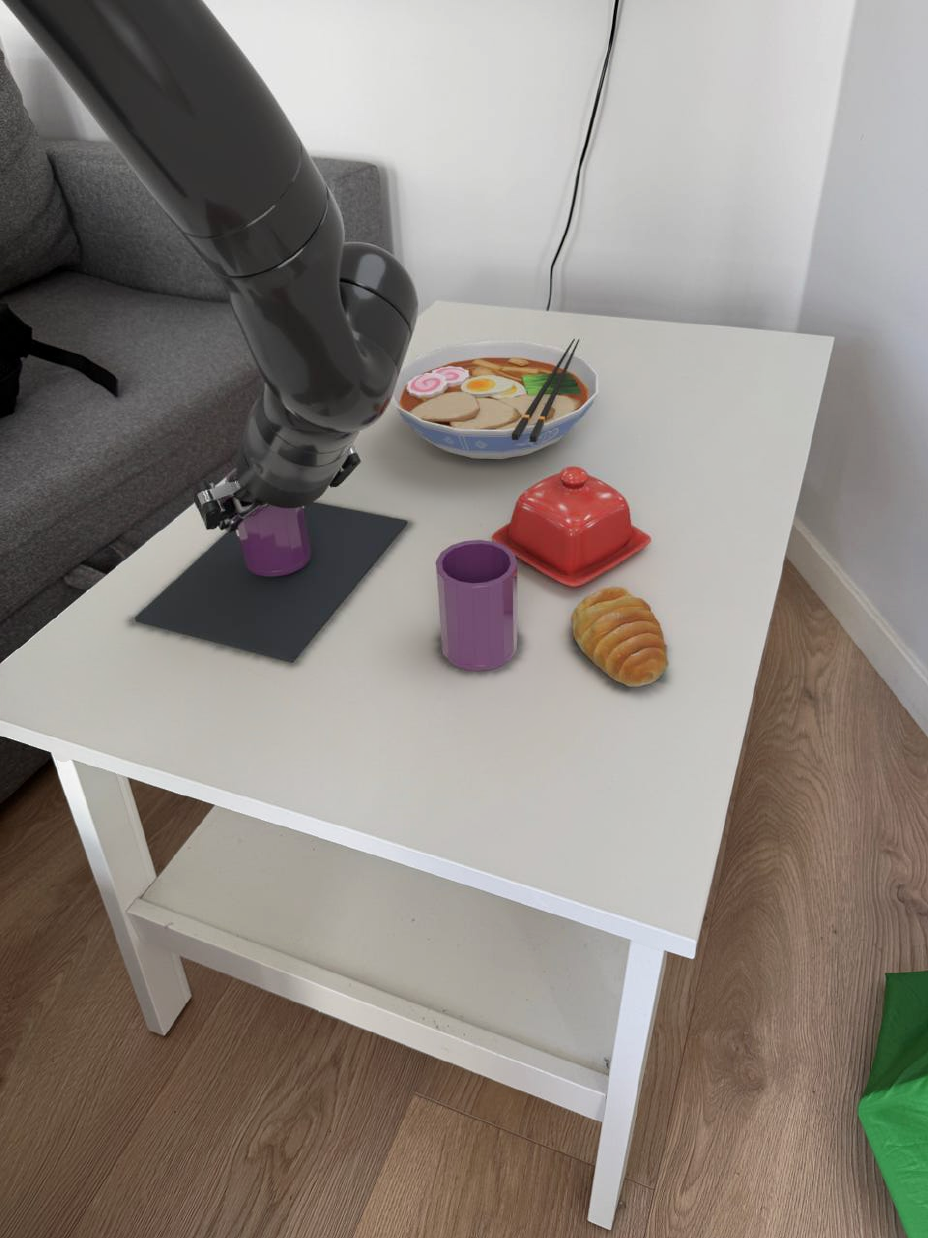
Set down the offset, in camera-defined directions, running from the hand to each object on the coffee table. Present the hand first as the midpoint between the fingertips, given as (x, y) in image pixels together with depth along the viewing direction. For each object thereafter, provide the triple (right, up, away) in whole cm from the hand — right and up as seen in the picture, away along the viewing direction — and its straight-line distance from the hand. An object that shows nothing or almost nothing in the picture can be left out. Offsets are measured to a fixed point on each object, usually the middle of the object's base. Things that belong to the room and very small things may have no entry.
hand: (262, 509), depth 83 cm
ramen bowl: (+22, +10, +20) cm, 31 cm away
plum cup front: (+1, -4, +2) cm, 5 cm away
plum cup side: (+20, -12, -7) cm, 24 cm away
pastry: (+31, -12, -8) cm, 34 cm away
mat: (+1, -5, +3) cm, 6 cm away
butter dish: (+28, -4, +3) cm, 29 cm away
